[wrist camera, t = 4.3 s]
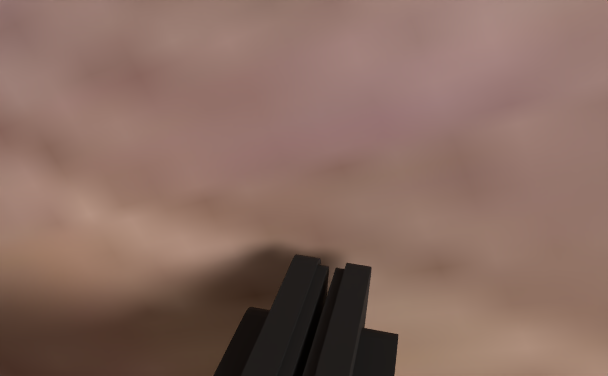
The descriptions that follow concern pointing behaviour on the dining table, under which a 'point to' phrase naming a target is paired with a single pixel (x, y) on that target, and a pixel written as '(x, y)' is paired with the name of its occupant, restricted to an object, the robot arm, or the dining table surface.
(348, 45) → the dining table surface
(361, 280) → the robot arm
